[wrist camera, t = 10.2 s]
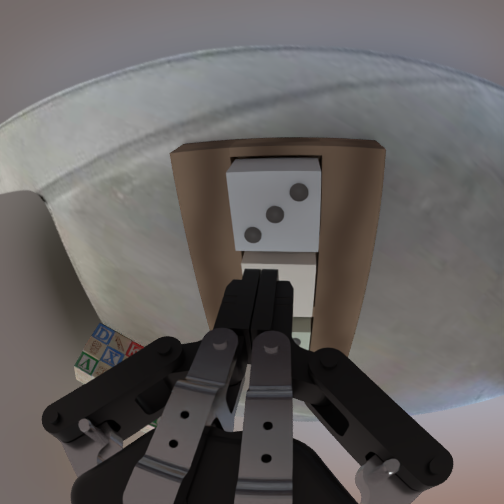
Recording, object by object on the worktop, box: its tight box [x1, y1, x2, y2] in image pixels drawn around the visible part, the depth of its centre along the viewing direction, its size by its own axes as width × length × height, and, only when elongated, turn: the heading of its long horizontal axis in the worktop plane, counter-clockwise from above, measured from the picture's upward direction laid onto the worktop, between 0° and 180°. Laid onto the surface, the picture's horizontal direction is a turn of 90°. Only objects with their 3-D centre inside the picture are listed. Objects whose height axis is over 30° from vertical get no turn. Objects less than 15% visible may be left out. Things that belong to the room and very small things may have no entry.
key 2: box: [292, 317, 311, 350], centre depth 30 cm, size 6×6×3 cm
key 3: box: [226, 158, 321, 252], centre depth 20 cm, size 6×6×3 cm
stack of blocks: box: [74, 323, 161, 433], centre depth 39 cm, size 21×6×12 cm, turn 61°
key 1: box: [241, 251, 316, 317], centre depth 26 cm, size 6×6×3 cm
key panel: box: [170, 137, 386, 357], centre depth 27 cm, size 16×24×3 cm, turn 4°
